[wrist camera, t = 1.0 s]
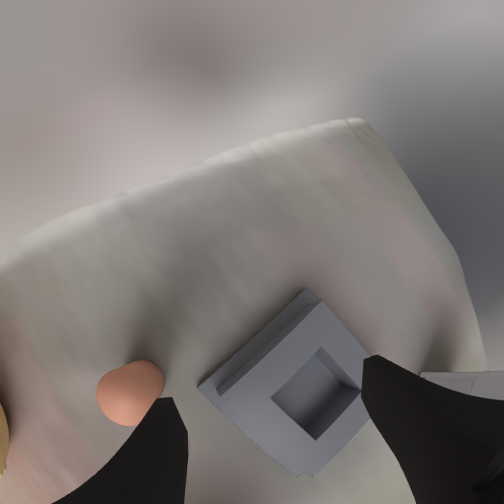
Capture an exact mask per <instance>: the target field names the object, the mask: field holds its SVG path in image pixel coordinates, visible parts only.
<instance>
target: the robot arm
mask: <svg viewBox="0 0 504 504" xmlns="http://www.w3.org/2000/svg"><path fill="white" fill-rule="evenodd" d="M361 399H362V401H363V403H364V405H365V408H366V410H367V412H368V414H369V416H370V418H371V419H372V421H373V423H374V424H375V426H376V427H377V429H378V430H379V432H380V433H381V435H382V436H383V438H384V439H385V441H386V443H387V444H388V446H389V447H390V449H391V450H392V452H393V453H394V455H395V457H396V458H397V460H398V462H399V464H400V466H401V468H402V470H403V472H404V474H405V477H406V479H407V481H408V483H409V486H410V488H411V491H412V493H413V495H414V498H415V501H416V504H504V400H497V399H489V398H483V397H477V396H473V395H468V394H465V393H461V392H458V391H455V390H451V389H448V388H446V387H443V386H440V385H438V384H436V383H433V382H431V381H428V380H426V379H424V378H422V377H420V376H418V375H416V374H414V373H412V372H410V371H408V370H406V369H404V368H402V367H400V366H398V365H396V364H395V363H393V362H391V361H389V360H387V359H385V358H383V357H381V356H379V355H374V356H371V357H368V358H365V359H363V375H362V388H361ZM187 464H188V432H187V430H186V428H185V425H184V423H183V421H182V419H181V417H180V414H179V412H178V410H177V408H176V405H175V403H174V401H173V398H172V397H167V398H157V399H156V400H155V401H154V403H153V404H152V405H151V407H150V408H149V410H148V411H147V413H146V414H145V416H144V417H143V419H142V420H141V421H140V423H139V424H138V426H137V427H136V428H135V430H134V431H133V433H132V434H131V435H130V437H129V438H128V439H127V441H126V442H125V443H124V444H123V445H122V447H121V448H120V449H119V450H118V452H117V453H116V454H115V455H114V456H113V457H112V458H111V459H110V461H109V462H108V463H107V464H106V465H105V466H104V467H102V468H101V469H100V470H99V471H98V472H97V473H96V474H95V475H94V476H92V477H91V478H90V479H89V480H87V481H86V482H85V483H84V484H82V485H81V486H80V487H78V488H77V489H76V490H74V491H73V492H71V493H69V494H68V495H66V496H65V497H63V498H61V499H59V500H58V501H56V502H54V503H52V504H184V497H185V486H186V475H187Z"/></svg>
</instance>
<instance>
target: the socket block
mask: <svg viewBox="0 0 504 504" xmlns="http://www.w3.org/2000/svg"><path fill="white" fill-rule="evenodd" d="M368 357H371V356H370V355H369V354H368V352H367V351H366V350H365V349H364V348H363V347H362V345H361V344H360V343H359V342H358V341H357V339H356V338H355V337H354V336H353V335H352V334H351V332H350V331H349V330H348V329H347V328H346V327H345V325H344V324H343V323H342V322H341V321H340V320H339V318H338V317H337V316H336V315H335V314H334V313H333V311H332V310H331V309H330V308H329V307H328V306H327V304H326V303H325V302H324V301H323V300H320V301H319V300H318V299H317V298H316V297H315V296H314V295H313V294H312V292H311V291H310V290H309V289H308V288H306V289H304V290H303V291H302V292H301V293H300V294H299V295H298V296H296V297H295V298H294V299H293V300H292V301H291V302H290V303H289V304H288V305H287V306H286V307H285V308H284V309H283V310H282V311H281V312H280V313H279V314H278V315H277V316H276V317H275V318H274V319H272V320H271V321H270V322H269V323H268V324H267V325H266V326H265V327H264V328H263V329H262V330H261V331H260V332H258V333H257V334H256V335H255V336H254V337H253V338H252V339H251V340H250V341H249V342H248V343H246V344H245V345H244V346H243V347H242V348H241V349H240V350H239V351H238V352H236V353H235V354H234V355H233V356H232V357H231V358H230V359H228V360H227V361H226V362H225V363H224V364H223V365H222V366H220V367H219V368H218V369H217V370H216V371H215V372H214V373H212V374H211V375H210V376H209V377H208V378H207V379H205V380H204V381H203V382H202V383H201V384H199V385H198V386H197V388H198V389H199V391H200V392H201V393H202V394H203V395H204V396H205V397H206V398H207V399H208V400H209V401H210V402H211V403H212V404H213V405H214V406H215V407H216V408H217V409H218V410H219V411H220V412H221V413H222V414H223V415H225V416H226V417H227V418H228V419H229V420H230V421H231V422H232V423H233V424H234V425H235V426H236V427H237V428H238V429H239V430H241V431H242V432H243V433H244V434H245V435H246V436H247V437H248V438H249V439H251V440H252V441H253V442H254V443H255V444H256V445H257V446H259V447H260V448H261V449H262V450H263V451H265V452H266V453H267V454H268V455H269V456H271V457H272V458H273V459H274V460H275V461H277V462H278V463H279V464H280V465H282V466H283V467H284V468H285V469H287V470H288V471H289V472H291V473H292V474H293V475H294V476H296V477H298V476H299V475H300V474H301V473H302V472H305V473H306V474H307V475H309V476H310V477H311V478H312V477H313V476H314V475H315V474H316V473H317V472H318V471H320V470H321V469H322V468H323V467H324V466H325V465H326V464H327V463H328V462H329V461H330V460H331V459H332V458H333V457H334V456H335V455H336V454H337V453H338V452H339V451H340V450H341V449H342V448H343V447H344V446H345V445H346V444H347V443H348V442H349V441H350V440H351V439H352V437H353V436H354V435H355V434H356V433H357V432H358V431H359V430H360V429H361V427H362V426H363V425H364V424H365V423H366V422H367V421H368V419H369V418H370V416H369V414H368V412H367V410H366V408H365V405H364V403H363V401H362V399H361V388H362V375H363V359H365V358H368Z"/></svg>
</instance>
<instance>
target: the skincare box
mask: <svg viewBox="0 0 504 504" xmlns="http://www.w3.org/2000/svg"><path fill="white" fill-rule="evenodd" d="M420 377H422V378H424V379H426V380H428V381H431V382H433V383H436V384H438V385H440V386H443V387H446V388H448V389H451V390H455V391H458V392H461V393H465V394H468V395H473V396H477V397H483V398H489V399H497V400H504V371H489V372H422V373H421V374H420Z"/></svg>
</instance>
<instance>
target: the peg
mask: <svg viewBox="0 0 504 504" xmlns="http://www.w3.org/2000/svg"><path fill="white" fill-rule="evenodd" d="M164 386H165V380H164V376H163V373H162V372H161V370H160V369H159V368H158V367H157V366H156V365H155V364H154V363H152V362H150V361H146V360H137V361H134V362H132V363H129V364H127V365H125V366H122V367H120V368H117V369H115V370H113V371H110V372H108V373H107V374H105V375H104V376H103V377H102V378H101V380H100V382H99V384H98V386H97V400H98V404H99V406H100V408H101V410H102V411H103V412H104V414H105V415H106V416H107V417H108V418H109V419H111V420H112V421H114V422H116V423H118V424H120V425H124V426H135V425H138V424H139V423H140V421H141V420H142V419H143V417H144V416H145V414H146V413H147V411H148V410H149V408H150V407H151V405H152V404H153V403H154V401H155V400H156V399H157V398H160V396H161V394H162V392H163V390H164Z"/></svg>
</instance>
